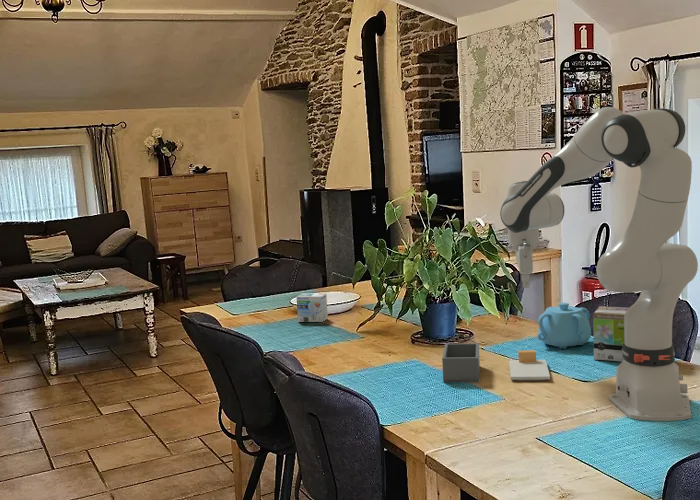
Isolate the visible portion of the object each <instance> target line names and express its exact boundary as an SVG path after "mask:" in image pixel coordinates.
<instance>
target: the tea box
mask: <svg viewBox="0 0 700 500" xmlns="http://www.w3.org/2000/svg"><path fill="white" fill-rule="evenodd" d="M628 308H629V307H622V306H621V307H620V306H619V307H618V306H600V305H599V306H598V308H597V309H596V310H595V311H594V312H593V329H592V330H593V335H592V336H593V346H592V347H593V361H595V360H596V361H611V362H620V363H622V361H623V353H622V348H623V343H624V315H625V313H626V311H627V310H628Z"/></svg>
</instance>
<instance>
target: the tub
mask: <svg viewBox="0 0 700 500" xmlns="http://www.w3.org/2000/svg"><path fill="white" fill-rule="evenodd" d="M441 360H442V381H443V383H445V384H446V383H480V374H481V373H480V372H481V371H480V369H481V367H480V366H481V365H480V364H481V363H480V344H479V342H478V343H477V342H476V343H475V342H474V343H467V342H466V343H444V349H443V353H442V359H441Z"/></svg>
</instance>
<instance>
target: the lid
mask: <svg viewBox="0 0 700 500" xmlns="http://www.w3.org/2000/svg"><path fill="white" fill-rule="evenodd" d="M517 352H518V359H513V360H512V359H510V360H509V361H508V364H509V375H510V380H515V381H546V380H551V375H550V371H549V368H548V365H547V359H537V351H536V350H535V349H534V350H533V349H531V350H518V351H517Z"/></svg>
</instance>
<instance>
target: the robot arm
mask: <svg viewBox="0 0 700 500" xmlns="http://www.w3.org/2000/svg"><path fill="white" fill-rule="evenodd" d="M685 135H686V124H685V121H684V117H682V115H681V114H680V113H678V112H677V111H675V110H673V109H670V108H654V109H648V110H647V109H646V110H645V109H644V110H643V109H640V110H635V111H632V112H628V113H626V114H625V113H624V112H623V111H622V110H620V109H618V108H616V107H613V106H605V107H601V108H600V109H598V110H597V111H595V112H594V113H593V114H592V115H591V116H590V117H588V118H587V120H585V122H584V123H583V124H582V125H581V126H580V127H579V129H578V130H577V131H576V133H574V135H573V137H572V138H571V139H570V140H569V141H568V142H567V143H566V144H565V145H564V146H563V147H562V148H561V149H560V150H559V151H558V152H557V153H556V154H554V155H553V156H552V157H551V158H549V159H548V160H547V161H546V162H545V163H543V164H542V165H541V166H540V168H538V169H537V170H536V172H535V173H533V175H532V176H531V177H530V178H529V179H528V180H525V181H524V180H523V181H518V182H514V183H511V184H510V185H509V186H508V189H507V193H506V199H505V200H504V201H503V202H502V205H501V208H500V212H499V213H500V215H499V216H500V219H501V222H502V223H503V225H504V226H505V228H507V238H508V239H507V243H508V245H512V250H514V252H515V259H516V263H517V267H518V271H519V274H520V279H521V282H522V288H524V289H527V288H530V275H531V274H533V273H534V263H533V250H535V249H536V244H537V245H538V244H540V229H546V228H551V227H555V226H558V225H559V224H561V222H562V221H563V219H564V216H565V204H564V202H563V199H562V198H561V197H560V196H559V195H558V194H556V193H552V191H554V190H555V189H556V188H559V187H561V186H564V185H566V184H569V183H572V182H577V181H581V180H585V179H588V178H589V179H590V178H592V177H594V176H596V175H597V174H598V173H600V172H601V171H602V170H603V169H605V167H607V166H608V164H609V163H610V162H611V161H612V160H613V159H614V160H616V161H618V162H621V163H622V164H625V165H626V166H627V167H629V168H631V169H632V168H637V167H639V168H640V172H641V174H640V180H639V181H640V182H639V185H638V192H637V195H636V200H635V204H634V208H633V212H632V217H631V219H630V222H629V224H628V226H627V228H626V229H625V231H624V232H623V234H622V236H620V238H619V239H618V240H617V242H616V243H615V244H614V245H613V246H612V247H611V248H610V249H609V250H607V251H606V252H604V253H603V254H602V255H600V257H599V259H598V261H597V265H596V276H597V277H596V278H597V279H598V282H599V283H600V285H601V286H602V287H603V288H604V289H605V290H607V291H609V292H614V293H615V292H617V293H625V294H627V293H634V292H635V293H636V292H640V294H639V296H638V299H637V300H636V301H635V302H634V303H633V304H632V305H631V306H630V307H627V308H628V310H627V311H626V313H625V315H624V343H623V348H622V353H623V361H622V362H620V363H619V364H618V366H616V372H615V373H616V374H615V375H616V376H615V378H616V380H615V392H614V393H611V394H609V396H608V400H609V401H611V402H612V404H613V405H615V406H616V407H617V408H618V409H619V410H620V411H621V412H623V413H624V415H626V416H627V417H628V418H630V419H634V420H642V421H652V422H653V421H654V422H655V421H656V422H667V421H668V422H669V421H673V422H674V421H683V420H688V419H691V418H692V413H691V412H692V411H691V404H690V399H689V395H688V391H689V390H688V384H687V383H680V381H684V375H683V374H679V373H680V370H679V369H680V366H679V365H678V364H676V363H675V361H676V360H675V359H676V358H675V357H676V356H675V354H676V352H675V351H676V350H675V349H674V348H675V347H674V345H673V320H674V319H673V317H674V312H675V309H676V305H677V302H678V300H679V298H680V296H681V295H682V292H683V291H684V290H685V288H686V286H688V284H690V282H691V281H693V280H694V279H695V277H696V275H697V272H698V269H699V263H698V258H697V256H696V254H695V252H694V251H693V249H691V247H689V246H687V245H685V244H679V243H671V242H670V243H669V242H667V241H669V240H670V239H671V238H673V237H674V236H675V235H677V233H679V231H680V230H681V228H682V225H683V221H684V217H685V213H686V209H687V205H688V201H689V195H690V190H691V184H692V174H693V173H692V171H693V170H692V169H693V168H692V167H693V165H692V163H693V162H692V158H691V156H690V155H689V154H688V153H687V152H685V150H683V149H681V148H677V147H678V146H679V145H680V144H681V143H682V141H683V140H684V138H685Z"/></svg>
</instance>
